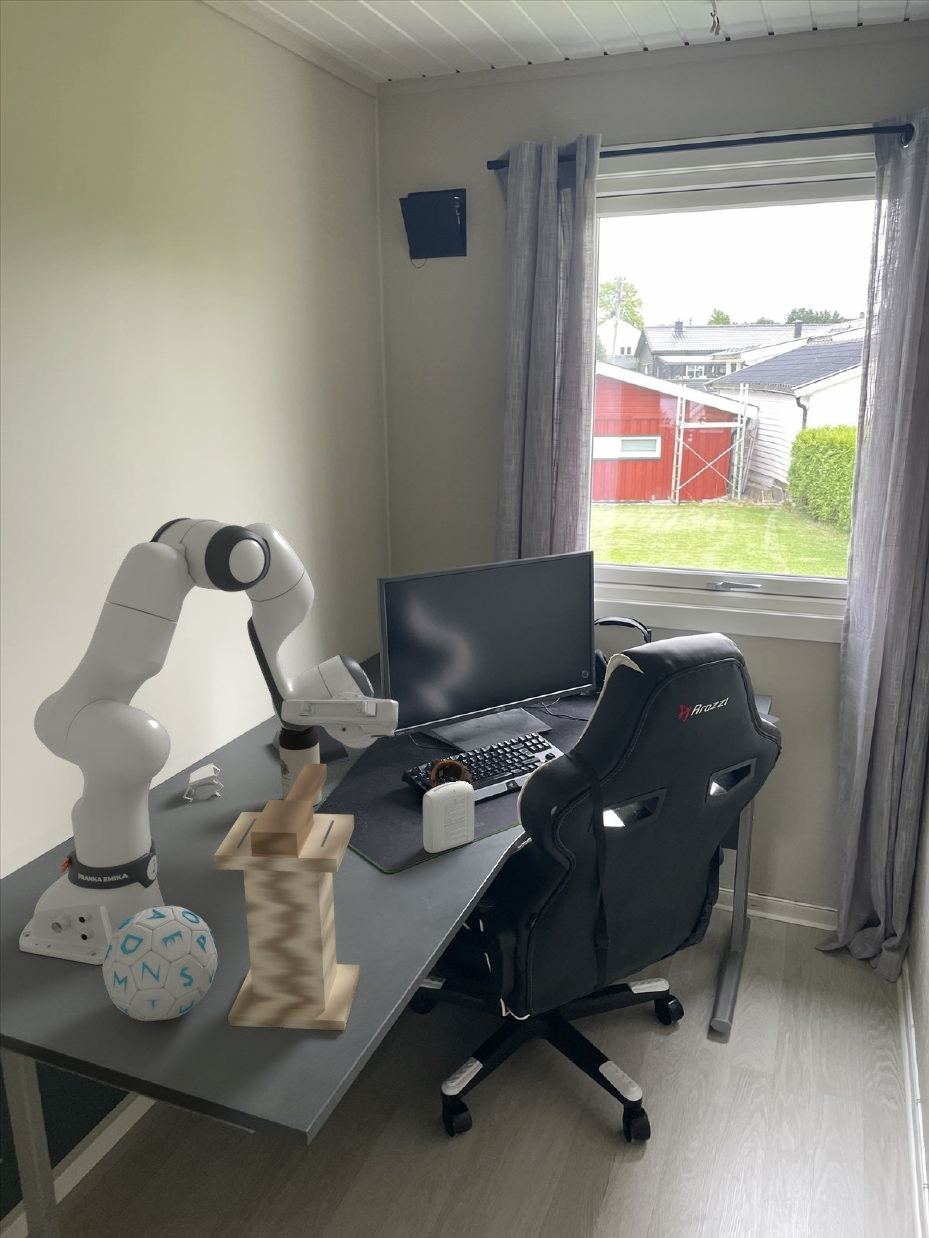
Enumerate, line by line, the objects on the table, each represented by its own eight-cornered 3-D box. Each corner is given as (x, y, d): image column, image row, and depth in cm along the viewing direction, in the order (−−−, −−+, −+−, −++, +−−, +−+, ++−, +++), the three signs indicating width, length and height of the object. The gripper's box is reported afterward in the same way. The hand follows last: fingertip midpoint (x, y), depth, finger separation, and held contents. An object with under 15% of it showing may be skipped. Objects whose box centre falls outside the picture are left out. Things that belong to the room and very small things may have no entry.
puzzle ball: (192, 1052, 119) (182, 953, 115) (86, 1039, 121) (73, 942, 117) (238, 978, 133) (230, 888, 129) (143, 968, 136) (132, 880, 132)
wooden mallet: (251, 856, 117) (249, 831, 116) (297, 776, 140) (295, 755, 139) (298, 857, 116) (296, 833, 115) (336, 777, 139) (335, 756, 138)
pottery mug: (485, 793, 193) (478, 770, 187) (452, 821, 190) (444, 799, 184) (448, 763, 201) (441, 740, 195) (416, 790, 197) (407, 768, 191)
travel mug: (318, 790, 194) (314, 711, 189) (324, 806, 186) (320, 724, 182) (280, 795, 191) (275, 716, 186) (285, 812, 184) (280, 729, 179)
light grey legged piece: (221, 804, 188) (220, 782, 186) (181, 805, 187) (178, 784, 186) (232, 779, 199) (231, 759, 198) (194, 780, 199) (192, 760, 197)
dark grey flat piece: (300, 774, 203) (299, 757, 202) (269, 745, 218) (268, 729, 217) (353, 761, 209) (352, 744, 208) (319, 734, 225) (319, 718, 224)
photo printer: (465, 831, 176) (465, 773, 172) (477, 841, 172) (477, 781, 169) (419, 846, 170) (418, 786, 167) (431, 856, 167) (430, 795, 163)
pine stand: (228, 1025, 124) (214, 854, 117) (254, 969, 135) (242, 811, 128) (344, 1030, 123) (336, 858, 116) (360, 973, 134) (353, 814, 127)
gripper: (292, 699, 166) (272, 686, 152) (403, 701, 164) (393, 687, 151) (290, 734, 164) (269, 723, 151) (402, 735, 163) (391, 725, 149)
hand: (332, 705), depth 151 cm, fingers open, 8 cm apart
